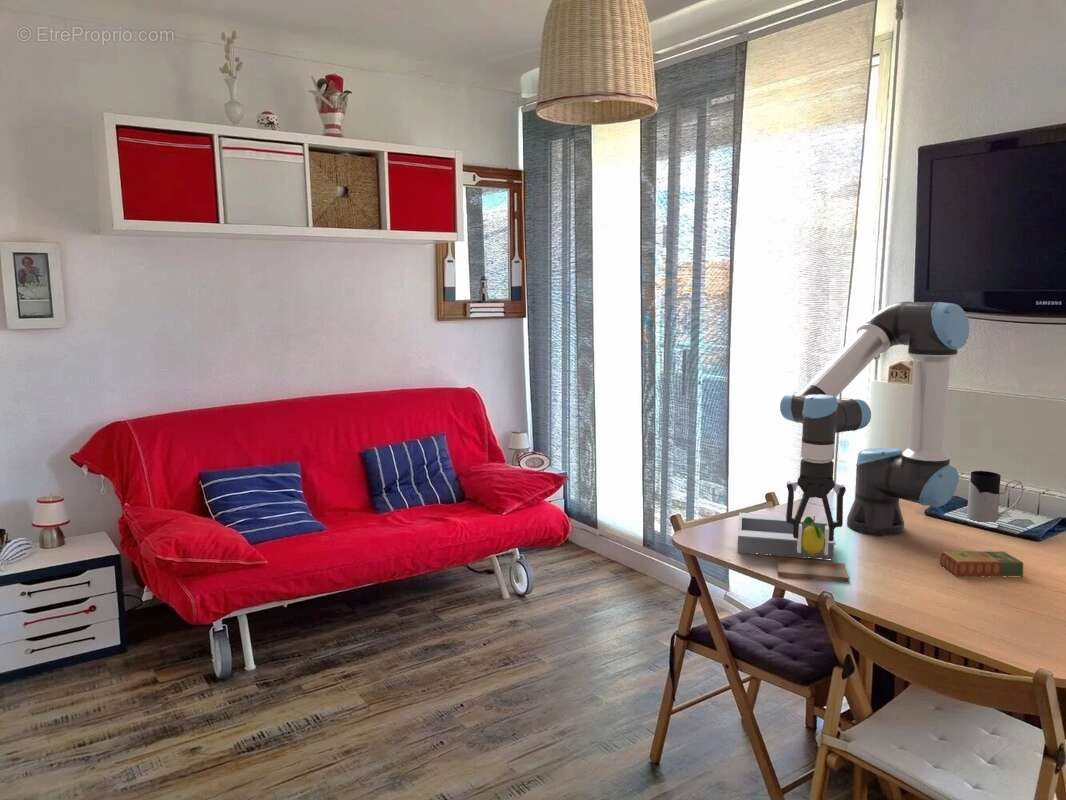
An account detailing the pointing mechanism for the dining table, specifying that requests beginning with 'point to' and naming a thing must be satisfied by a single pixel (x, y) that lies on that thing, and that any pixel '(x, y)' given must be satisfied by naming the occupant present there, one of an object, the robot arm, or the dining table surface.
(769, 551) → the gray open box
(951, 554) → the carton
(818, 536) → the lemon
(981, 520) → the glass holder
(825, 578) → the walnut board
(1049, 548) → the dining table surface
